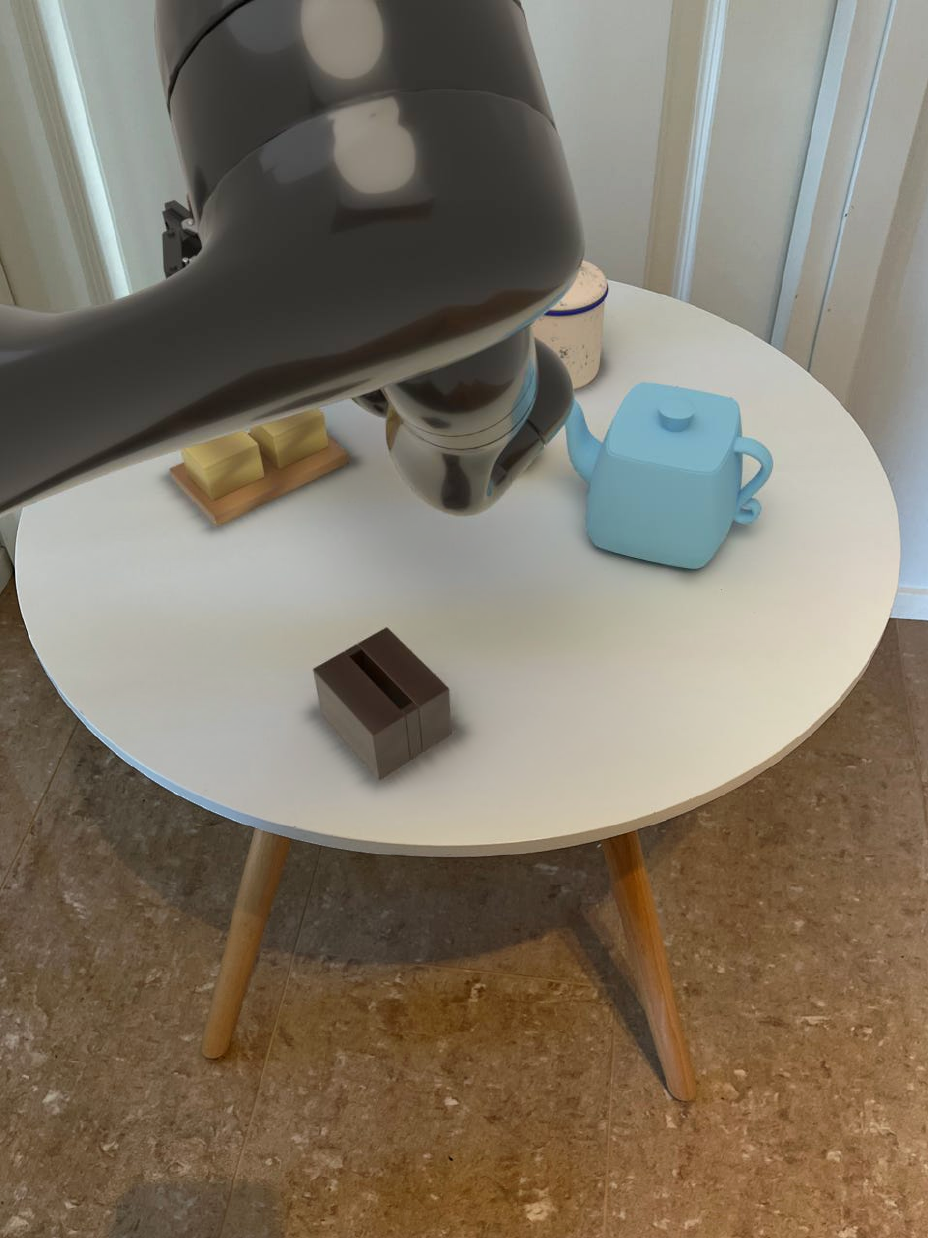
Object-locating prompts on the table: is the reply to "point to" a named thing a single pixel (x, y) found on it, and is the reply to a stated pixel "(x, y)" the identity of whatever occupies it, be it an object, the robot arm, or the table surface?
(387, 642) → the knife holder
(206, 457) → the butter
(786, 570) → the table surface
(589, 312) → the teacup with lid
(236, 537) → the table surface
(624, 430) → the teapot
